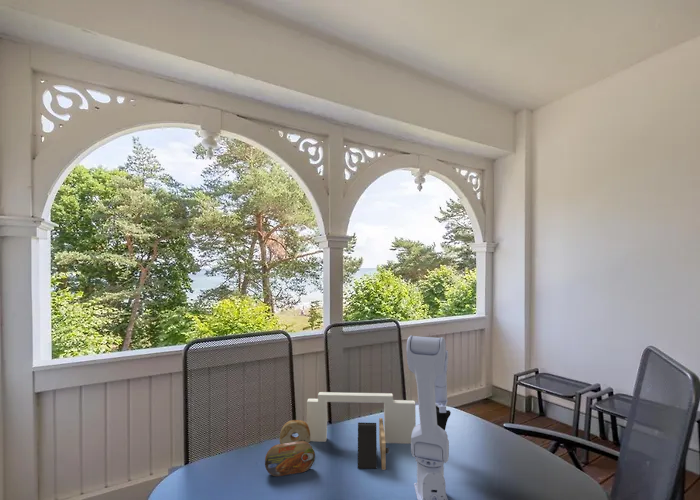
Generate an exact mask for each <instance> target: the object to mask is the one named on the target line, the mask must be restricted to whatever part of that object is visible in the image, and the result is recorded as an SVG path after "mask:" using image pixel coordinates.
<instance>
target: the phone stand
mask: <svg viewBox="0 0 700 500" xmlns="http://www.w3.org/2000/svg"><path fill="white" fill-rule="evenodd" d="M377 439H378V438H377V422H357V469H358V470H359V469H363V470H367V469H368V470H369V469H370V470H373V469H374V470H378V464H377V463H378V462H377V461H378V458H377V457H378V456H377V455H378V454H377V452H378V451H377V445H378V443H377Z"/></svg>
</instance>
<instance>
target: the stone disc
mask: <svg viewBox="0 0 700 500" xmlns="http://www.w3.org/2000/svg"><path fill="white" fill-rule="evenodd" d="M295 433H296V434H297V435H298V436H294V435H293V434H295ZM298 441H305V442H308V443H309V444H310V442H311V441H310V430H309V427H308V424H307V421H305V420H300V419H292V420H288V421H287V422H285V423H284V424H283V426H282V427H281V430H280V433H279V444H284V443H291V442H298Z"/></svg>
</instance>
